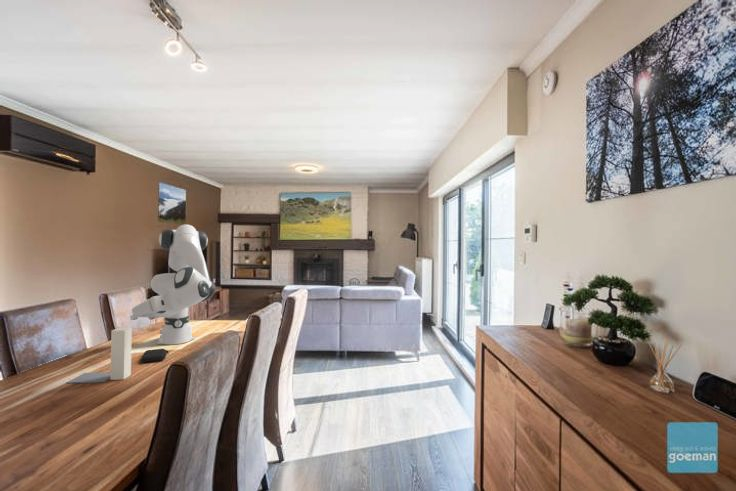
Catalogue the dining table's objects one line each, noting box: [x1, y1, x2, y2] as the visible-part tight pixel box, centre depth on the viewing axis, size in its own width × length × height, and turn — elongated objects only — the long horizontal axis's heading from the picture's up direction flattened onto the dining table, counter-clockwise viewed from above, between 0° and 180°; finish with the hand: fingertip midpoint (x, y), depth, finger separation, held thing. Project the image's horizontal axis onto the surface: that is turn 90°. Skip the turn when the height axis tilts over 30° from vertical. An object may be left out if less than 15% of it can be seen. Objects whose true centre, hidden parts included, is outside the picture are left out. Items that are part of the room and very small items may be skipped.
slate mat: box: [65, 371, 111, 384], centre depth 138 cm, size 14×10×1 cm
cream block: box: [109, 327, 133, 381], centre depth 139 cm, size 5×5×20 cm
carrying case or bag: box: [140, 348, 169, 364], centre depth 163 cm, size 11×3×15 cm
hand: (141, 318), depth 139 cm, fingers open, 8 cm apart
